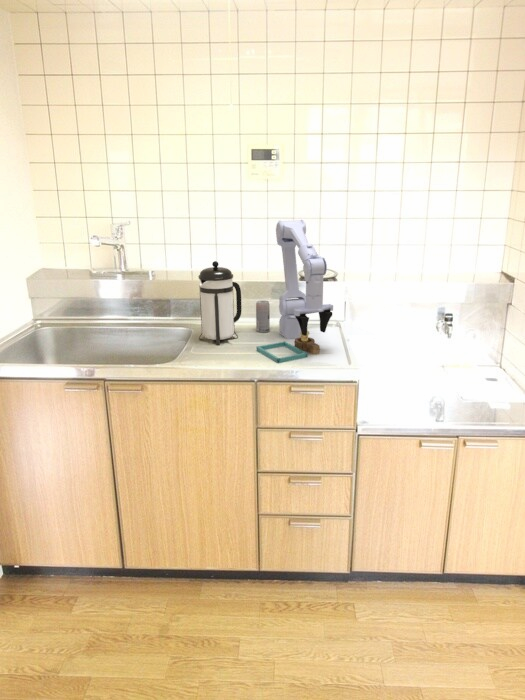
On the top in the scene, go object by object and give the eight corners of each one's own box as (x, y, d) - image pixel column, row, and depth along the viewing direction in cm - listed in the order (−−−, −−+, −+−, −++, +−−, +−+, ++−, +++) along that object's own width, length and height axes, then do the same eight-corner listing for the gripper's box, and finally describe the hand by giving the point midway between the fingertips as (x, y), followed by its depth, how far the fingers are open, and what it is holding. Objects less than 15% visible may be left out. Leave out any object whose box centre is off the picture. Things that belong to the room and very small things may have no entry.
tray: (256, 353, 182) (256, 346, 181) (284, 347, 187) (284, 341, 186) (277, 366, 169) (277, 359, 169) (307, 359, 175) (307, 353, 174)
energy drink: (270, 329, 210) (269, 300, 206) (269, 333, 205) (268, 303, 201) (257, 329, 210) (256, 300, 206) (255, 332, 205) (255, 303, 201)
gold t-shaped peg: (298, 347, 184) (298, 331, 182) (306, 346, 185) (306, 330, 183) (302, 349, 182) (302, 333, 180) (310, 348, 183) (310, 332, 181)
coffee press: (239, 345, 190) (237, 264, 180) (196, 345, 191) (191, 264, 181) (242, 331, 207) (240, 256, 197) (202, 332, 207) (198, 257, 197)
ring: (290, 347, 185) (290, 339, 184) (307, 343, 188) (307, 336, 187) (307, 355, 175) (308, 347, 175) (324, 352, 179) (324, 344, 178)
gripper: (302, 299, 165) (302, 339, 170) (339, 294, 172) (337, 333, 176) (291, 295, 171) (290, 334, 176) (326, 290, 178) (325, 328, 182)
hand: (313, 333), depth 176 cm, fingers open, 7 cm apart
